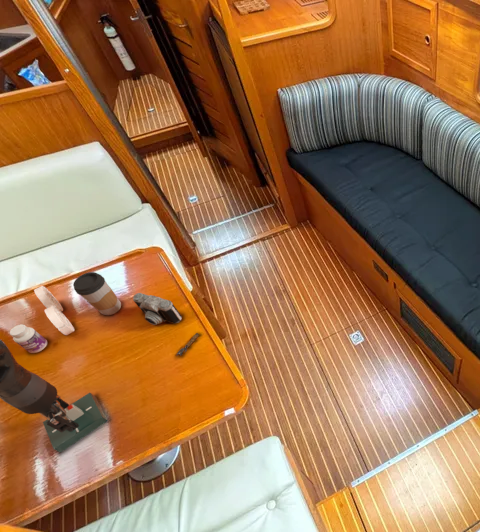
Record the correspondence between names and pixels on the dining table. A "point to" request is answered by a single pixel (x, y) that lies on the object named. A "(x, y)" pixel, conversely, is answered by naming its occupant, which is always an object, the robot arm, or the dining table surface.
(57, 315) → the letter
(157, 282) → the dining table surface
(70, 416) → the tap handle
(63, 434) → the green switch panel
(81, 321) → the dining table surface
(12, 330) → the pill bottle
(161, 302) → the camera
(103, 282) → the coffee cup
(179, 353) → the can opener
